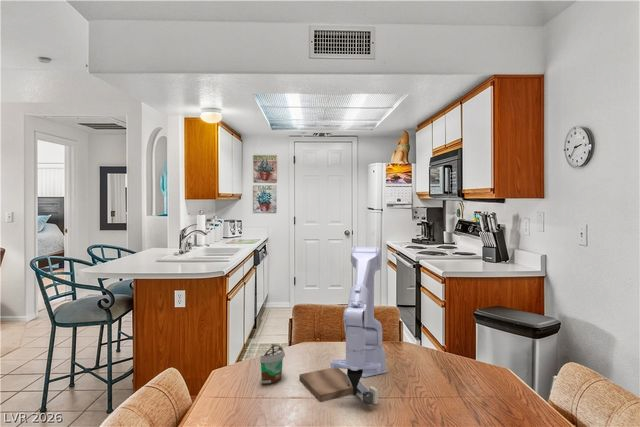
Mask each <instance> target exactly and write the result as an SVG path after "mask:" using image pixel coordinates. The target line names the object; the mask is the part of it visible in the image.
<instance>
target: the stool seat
mask: <svg viewBox="0 0 640 427" xmlns="http://www.w3.org/2000/svg"><path fill="white" fill-rule="evenodd" d="M298 374H299V373H298ZM299 382H301V383H302V385H303V386H304V387H306V389H307V390H308V391H309V392H310V393H311V394H312V395H313V396H314V397H315V398H316V399H317V401H319V402H321V403H322V402H325V400H326V401H328V400H329V399H330V400H333V399H337V398H341V397H345V396H349V395H353V389H352V388H351V387H350V386H349V385H347V373H345V372H344V371H343V370H341V368H334V369H331V367H329V368H325V369H320V370H314V371H309V372H305V373H301V374H299Z"/></svg>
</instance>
